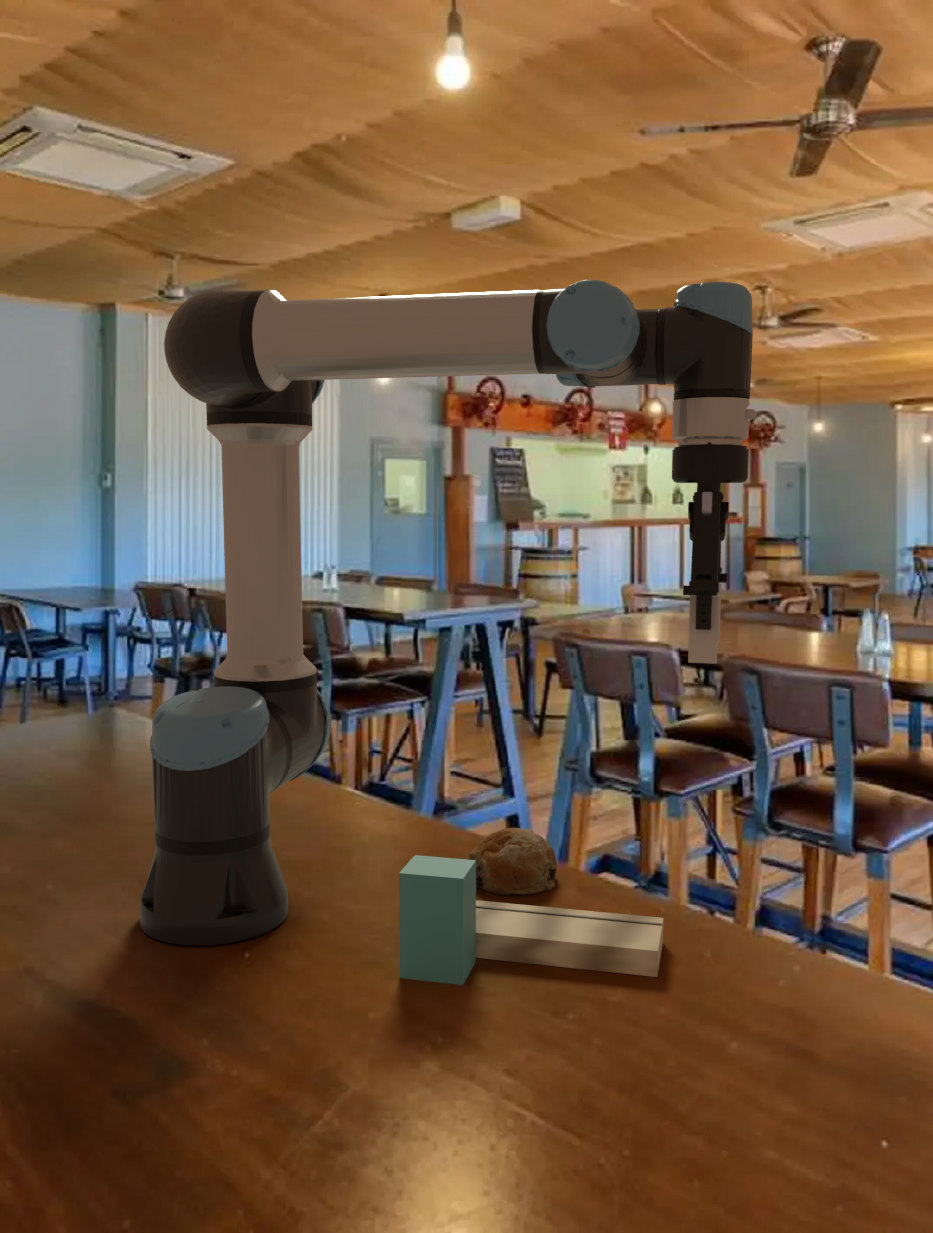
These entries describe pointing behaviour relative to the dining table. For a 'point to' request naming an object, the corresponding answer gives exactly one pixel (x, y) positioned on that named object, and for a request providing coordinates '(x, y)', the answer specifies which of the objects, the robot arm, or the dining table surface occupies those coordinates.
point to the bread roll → (514, 862)
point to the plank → (569, 938)
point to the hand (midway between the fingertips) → (704, 652)
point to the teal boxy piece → (437, 919)
